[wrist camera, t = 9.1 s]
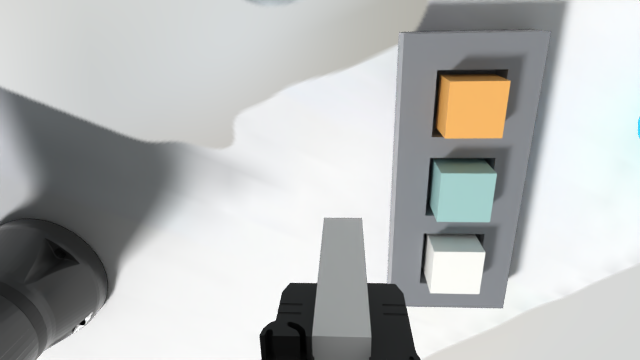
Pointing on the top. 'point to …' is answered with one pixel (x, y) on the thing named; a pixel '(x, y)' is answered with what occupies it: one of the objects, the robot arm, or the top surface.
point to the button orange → (472, 105)
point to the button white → (453, 263)
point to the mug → (639, 127)
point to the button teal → (462, 190)
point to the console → (460, 153)
